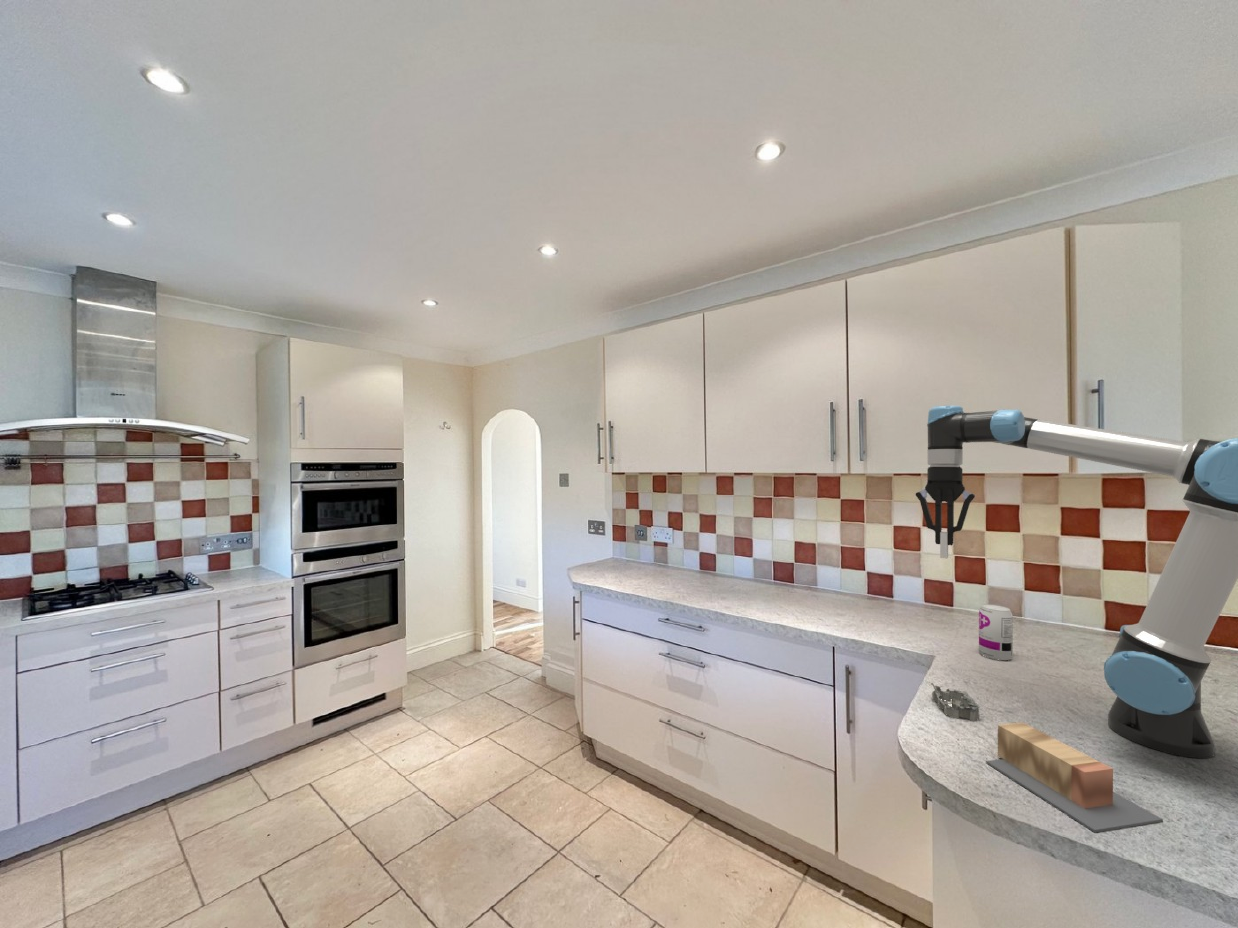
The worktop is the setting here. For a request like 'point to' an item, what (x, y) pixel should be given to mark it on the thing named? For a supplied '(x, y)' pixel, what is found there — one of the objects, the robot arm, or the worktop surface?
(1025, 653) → the worktop surface
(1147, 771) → the worktop surface
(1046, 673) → the worktop surface
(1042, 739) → the oak block
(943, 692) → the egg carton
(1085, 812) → the mat
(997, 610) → the supplement can
